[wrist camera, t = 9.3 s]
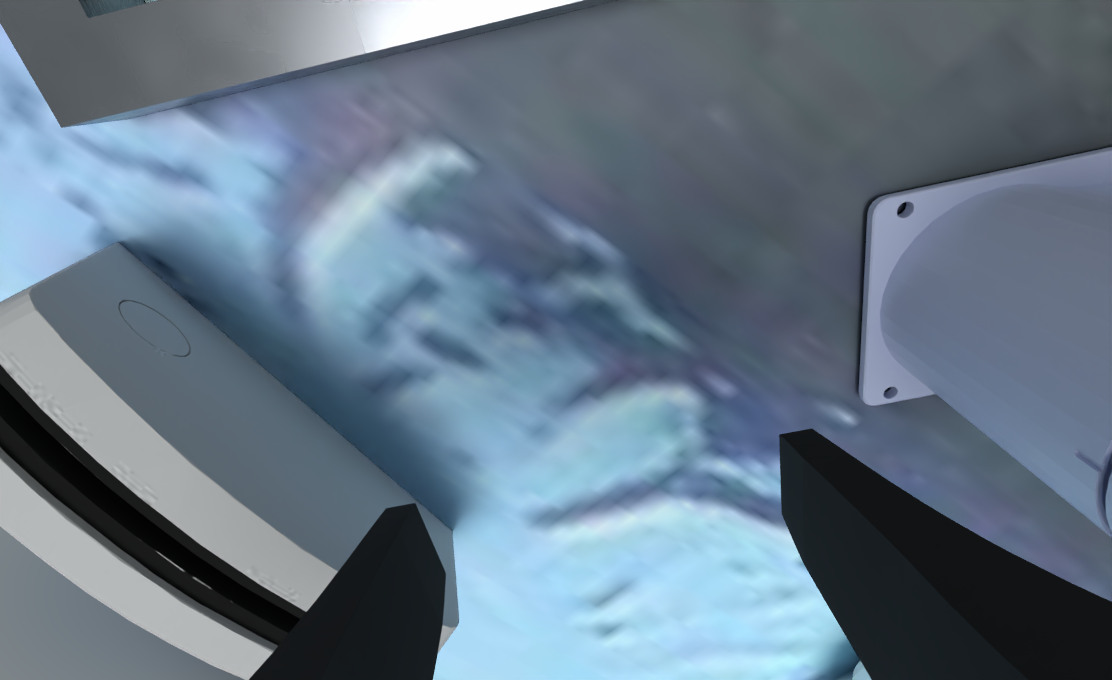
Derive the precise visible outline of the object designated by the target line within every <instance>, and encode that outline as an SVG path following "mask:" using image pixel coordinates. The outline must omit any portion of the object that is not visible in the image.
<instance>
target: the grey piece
mask: <svg viewBox="0 0 1112 680" xmlns="http://www.w3.org/2000/svg"><path fill="white" fill-rule="evenodd" d="M411 503H416V505H417V508H418V510H419V512H420V515H421V517H422V519H423V521H424V524H425V526H426V528H427V531H428V533H429V535H430V538H431V540H432V542H433V544H434V547H435V549H436V551H437V554H438V556H439V558H440V560H441V563H442V565H443V567H444V570H445V572H446V584H445V602H444V614H443V626H442V632H441V637H440V643H439V648H438V652H439V651H440V649H441V648H442V647H443V645H444V644H445V642H446V641H447V640H448V638H449V637H450V635H451V634H452V633H453V631H454V630H455V628H456V627H457V625H458V623H459V612H458V599H457V586H456V573H455V560H454V547H453V534H452V531H451V530H450V529H449V528H448V527H447V526H446V525H444V524H443V523H442V522H441V521H440V520H439V519H438V518H436V517H435V516H434V515H433V514H432V513H431V512H429V511H428V510H427V509H426V508H425V507H424V506H423V505H421V504H420V503H419V502H418V501H417V500H416V499H414V498H413V497H412V496H411V495H410V494H409V493H408V492H406V491H405V490H404V489H403V488H402V487H401V486H399V485H398V484H397V483H396V482H395V481H394V480H393V479H391V478H390V477H389V476H388V475H387V474H386V473H384V472H383V471H382V470H381V469H380V468H379V467H378V466H376V465H375V464H374V463H373V462H372V461H371V460H369V459H368V458H367V457H366V456H365V455H364V454H363V453H361V452H360V451H359V450H358V449H357V448H356V447H354V446H353V445H352V444H351V443H350V442H349V441H347V440H346V439H345V438H344V437H343V436H342V435H341V434H339V433H338V432H337V431H336V430H335V429H334V428H332V427H331V426H330V425H329V424H328V423H327V422H326V421H324V420H323V419H322V418H321V417H320V416H319V415H317V414H316V413H315V412H314V411H313V410H312V409H311V408H309V407H308V406H307V405H306V404H305V403H304V402H302V401H301V400H300V399H299V398H298V397H297V396H296V395H294V394H293V393H292V392H291V391H290V390H289V389H287V388H286V387H285V386H284V385H283V384H282V383H281V382H279V381H278V380H277V379H276V378H275V377H274V376H272V375H271V374H270V373H269V372H268V371H267V370H266V369H264V368H263V367H262V366H261V365H260V364H259V363H257V362H256V361H255V360H254V359H253V358H252V357H251V356H249V355H248V354H247V353H246V352H245V351H244V350H242V349H241V348H240V347H239V346H238V345H237V344H235V343H234V342H233V341H232V340H231V339H230V338H229V337H227V336H226V335H225V334H224V333H223V332H222V331H220V330H219V329H218V328H217V327H216V326H215V325H214V324H212V323H211V322H210V321H209V320H208V319H207V318H205V317H204V316H203V315H202V314H201V313H200V312H199V311H197V310H196V309H195V308H194V307H193V306H192V305H190V304H189V303H188V302H187V301H186V300H185V299H184V298H182V297H181V296H180V295H179V294H178V293H177V292H175V291H174V290H173V289H172V288H171V287H170V286H169V285H167V284H166V283H165V282H164V281H163V280H162V279H160V278H159V277H158V276H157V275H156V274H155V273H154V272H152V271H151V270H150V269H149V268H148V267H147V266H145V265H144V264H143V263H142V262H141V261H140V260H139V259H137V258H136V257H135V256H134V255H133V254H132V253H130V252H129V251H128V250H127V249H126V248H125V247H124V246H122V245H121V244H120V243H119V242H117V243H115V244H113V245H111V246H109V247H106V248H104V249H102V250H100V251H98V252H96V253H94V254H92V255H90V256H88V257H86V258H84V259H82V260H80V261H78V262H76V263H74V264H72V265H71V266H69V267H67V268H65V269H63V270H61V271H59V272H57V273H55V274H53V275H51V276H49V277H48V278H46V279H44V280H42V281H40V282H38V283H36V284H34V285H32V286H30V287H28V288H26V289H24V290H23V291H21V292H19V293H17V294H15V295H13V296H11V297H9V298H7V299H5V300H3V301H1V302H0V527H2V528H3V529H4V530H5V531H7V532H8V533H9V534H11V535H12V536H13V537H14V538H16V539H17V540H18V541H19V542H21V543H22V544H23V545H24V546H26V547H27V548H28V549H30V550H31V551H32V552H33V553H35V554H36V555H37V556H38V557H40V558H41V559H42V560H43V561H45V562H46V563H47V564H49V565H50V566H51V567H53V568H54V569H55V570H57V571H58V572H59V573H61V574H62V575H64V576H65V577H66V578H68V579H69V580H71V581H72V582H73V583H75V584H76V585H77V586H79V587H80V588H81V589H83V590H84V591H86V592H87V593H89V594H90V595H91V596H93V597H94V598H96V599H97V600H99V601H100V602H102V603H104V604H105V605H106V606H108V607H110V608H111V609H113V610H114V611H116V612H117V613H119V614H120V615H122V616H123V617H125V618H127V619H128V620H130V621H131V622H133V623H135V624H136V625H138V626H140V627H142V628H144V629H145V630H147V631H149V632H151V633H152V634H154V635H156V636H158V637H159V638H161V639H163V640H165V641H166V642H168V643H170V644H172V645H174V646H176V647H178V648H179V649H181V650H183V651H185V652H187V653H189V654H191V655H193V656H195V657H197V658H199V659H201V660H203V661H205V662H207V663H209V664H211V665H213V666H215V667H217V668H219V669H222V670H224V671H226V672H229V673H231V674H234V675H236V676H238V677H241V678H243V679H245V680H249V679H250V677H251V676H252V675H253V674H254V673H255V672H256V671H257V670H258V669H259V668H260V666H261V665H262V664H263V663H264V662H265V661H266V660H267V659H268V657H269V656H270V655H271V654H272V653H273V652H274V650H275V649H276V648H277V647H278V646H279V644H280V643H281V642H282V641H283V640H284V638H285V637H286V636H287V635H288V634H289V632H290V631H291V630H292V629H293V628H294V626H295V625H296V624H297V623H298V622H299V620H300V619H301V618H302V617H303V615H304V614H305V613H306V612H307V611H308V609H309V608H310V607H311V606H312V605H313V603H314V602H315V601H316V600H317V598H318V597H319V596H320V595H321V593H322V592H323V591H324V589H325V588H326V587H327V585H328V584H329V583H330V581H331V580H332V579H333V578H334V576H335V575H336V574H337V572H338V571H339V570H340V568H341V567H342V566H343V565H344V563H345V562H346V561H347V559H348V558H349V557H350V555H351V554H352V553H353V551H354V550H355V549H356V547H357V546H358V545H359V543H360V542H361V541H362V539H363V538H364V536H365V535H366V534H367V532H368V531H369V530H370V528H371V527H372V526H373V524H374V523H375V522H376V521H377V519H378V518H379V517H380V515H381V514H382V513H383V512H384V510H385V509H386V508H390V507H395V506H401V505H406V504H411Z"/></svg>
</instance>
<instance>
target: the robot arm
mask: <svg viewBox="0 0 1112 680" xmlns="http://www.w3.org/2000/svg"><path fill="white" fill-rule="evenodd" d="M904 202H906V208H905V210H904V211H903V212H902V213H901V214H899V215H897V210H898V207H899V206H900V205H901V204H902V203H904ZM889 387H891V389H890V390H889V391H888V392H885V393H884V391H885V390H886V389H887V388H889ZM934 394H936V395H938V396H939V397H940V398H941V399H943V400H944V401H945V402H946V403H947V404H949V405H950V406H951V407H952V408H954V409H955V410H956V411H957V412H958V413H960V414H961V415H962V416H963V417H965V418H966V419H967V420H968V421H969V422H971V423H972V424H973V425H974V426H976V427H977V428H978V429H979V430H980V431H982V432H983V433H984V434H985V435H987V436H988V437H989V438H990V439H991V440H993V441H994V442H995V443H996V444H998V445H999V446H1000V447H1001V448H1002V449H1004V450H1005V451H1006V452H1007V453H1009V454H1010V455H1011V456H1012V457H1014V458H1015V459H1016V460H1017V461H1018V462H1020V463H1021V464H1022V465H1023V466H1025V467H1026V468H1027V469H1028V470H1029V471H1031V472H1032V473H1033V474H1034V475H1036V476H1037V477H1038V478H1039V479H1040V480H1042V481H1043V482H1044V483H1045V484H1047V485H1048V486H1049V487H1050V488H1051V489H1053V490H1054V491H1055V492H1056V493H1058V494H1059V495H1060V496H1061V497H1062V498H1064V499H1065V500H1066V501H1067V502H1069V503H1070V504H1071V505H1072V506H1073V507H1075V508H1076V509H1077V510H1078V511H1080V512H1081V513H1082V514H1083V515H1084V516H1086V517H1087V518H1088V519H1089V520H1091V521H1092V522H1093V523H1094V524H1096V525H1097V526H1098V527H1099V528H1100V529H1102V530H1103V531H1104V532H1105V533H1107V534H1108V535H1109V536H1110V537H1111V538H1112V147H1109V148H1104V149H1100V150H1095V151H1090V152H1085V153H1081V154H1076V155H1071V156H1067V157H1062V158H1057V159H1053V160H1048V161H1043V162H1038V163H1034V164H1029V165H1024V166H1020V167H1015V168H1010V169H1005V170H1001V171H996V172H991V173H987V174H982V175H977V176H973V177H968V178H963V179H958V180H954V181H949V182H944V183H940V184H935V185H930V186H926V187H921V188H916V189H911V190H907V191H902V192H897V193H893V194H888V195H884V196H881V197H879V198H877V199H876V200H875V201H873V202H872V204H871V205H870V207H869V210H868V214H867V233H866V253H865V274H864V294H863V314H862V334H861V355H860V375H859V397H860V398H861V399H862V400H863V401H864V402H865V403H866V404H867V405H870V406H876V405H881V404H886V403H892V402H897V401H902V400H908V399H913V398H918V397H924V396H929V395H934ZM779 438H780V471H781V504H782V515H783V518H784V520H785V522H786V525H787V527H788V529H789V532H790V534H791V536H792V539H793V541H794V543H795V545H796V548H797V550H798V552H799V554H800V556H801V559H802V561H803V563H804V565H805V567H806V568H807V570H808V572H809V574H810V575H811V577H812V579H813V581H814V582H815V584H816V586H817V588H818V589H819V591H820V593H821V594H822V596H823V598H824V600H825V601H826V603H827V605H828V606H829V608H830V610H831V612H832V613H833V615H834V617H835V618H836V620H837V622H838V623H839V625H840V627H841V628H842V630H843V632H844V634H845V635H846V637H847V639H848V640H849V642H850V644H851V645H852V647H853V649H854V651H855V652H856V654H857V656H858V657H859V659H860V661H861V662H862V664H863V666H864V668H865V669H866V671H867V673H868V674H869V676H870V678H871V679H872V680H1112V602H1111V601H1109V600H1106V599H1104V598H1102V597H1100V596H1098V595H1095V594H1093V593H1091V592H1089V591H1087V590H1085V589H1083V588H1080V587H1078V586H1076V585H1074V584H1072V583H1070V582H1068V581H1066V580H1064V579H1062V578H1060V577H1058V576H1056V575H1054V574H1052V573H1050V572H1048V571H1046V570H1044V569H1042V568H1040V567H1038V566H1036V565H1034V564H1032V563H1030V562H1028V561H1026V560H1024V559H1022V558H1020V557H1018V556H1016V555H1014V554H1012V553H1010V552H1008V551H1006V550H1005V549H1003V548H1001V547H999V546H997V545H995V544H993V543H992V542H990V541H988V540H986V539H984V538H982V537H981V536H979V535H977V534H976V533H974V532H972V531H970V530H969V529H967V528H965V527H963V526H962V525H960V524H958V523H956V522H955V521H953V520H951V519H949V518H948V517H946V516H944V515H943V514H941V513H939V512H938V511H936V510H934V509H933V508H931V507H929V506H928V505H926V504H924V503H923V502H921V501H920V500H918V499H917V498H915V497H913V496H912V495H910V494H909V493H907V492H906V491H904V490H902V489H901V488H899V487H898V486H896V485H895V484H893V483H891V482H890V481H888V480H887V479H885V478H884V477H882V476H881V475H879V474H878V473H876V472H875V471H873V470H872V469H870V468H869V467H867V466H866V465H864V464H863V463H862V462H860V461H859V460H857V459H856V458H854V457H853V456H851V455H850V454H848V453H847V452H845V451H844V450H842V449H841V448H840V447H838V446H837V445H835V444H834V443H832V442H831V441H829V440H828V439H826V438H825V437H823V436H822V435H821V434H819V433H818V432H816V431H815V430H813V429H807V430H802V431H797V432H791V433H786V434H780V435H779ZM445 584H446V572H445V570H444V567H443V565H442V563H441V560H440V558H439V556H438V554H437V551H436V549H435V547H434V544H433V542H432V540H431V538H430V535H429V533H428V531H427V528H426V526H425V524H424V521H423V519H422V517H421V515H420V512H419V510H418V508H417V505H416V503H411V504H406V505H401V506H395V507H390V508H386V509H385V510H384V512H383V513H382V514H381V515H380V517H379V518H378V519H377V521H376V522H375V523H374V524H373V526H372V527H371V528H370V530H369V531H368V532H367V534H366V535H365V536H364V538H363V539H362V541H361V542H360V543H359V545H358V546H357V547H356V549H355V550H354V551H353V553H352V554H351V555H350V557H349V558H348V559H347V561H346V562H345V563H344V565H343V566H342V567H341V568H340V570H339V571H338V572H337V574H336V575H335V576H334V578H333V579H332V580H331V581H330V583H329V584H328V585H327V587H326V588H325V589H324V591H323V592H322V593H321V595H320V596H319V597H318V598H317V600H316V601H315V602H314V603H313V605H312V606H311V607H310V608H309V609H308V611H307V612H306V613H305V614H304V615H303V617H302V618H301V619H300V620H299V622H298V623H297V624H296V625H295V626H294V628H293V629H292V630H291V631H290V632H289V634H288V635H287V636H286V637H285V638H284V640H283V641H282V642H281V643H280V644H279V646H278V647H277V648H276V649H275V650H274V652H273V653H272V654H271V655H270V656H269V657H268V659H267V660H266V661H265V662H264V663H263V664H262V665H261V666H260V668H259V669H258V670H257V671H256V672H255V673H254V674H253V675H252V676H251V677H250V679H249V680H433V675H434V670H435V665H436V659H437V654H438V648H439V643H440V637H441V632H442V626H443V614H444V602H445Z"/></svg>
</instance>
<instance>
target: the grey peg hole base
mask: <svg viewBox="0 0 1112 680" xmlns="http://www.w3.org/2000/svg"><path fill="white" fill-rule="evenodd" d="M613 1H617V0H157V1H153V2H150V3H146V4H145V3H144V1H143V0H0V23H1V25H2V27H3V28H4V30H5V32H6V34H7V35H8V37H9V39H10V40H11V42H12V44H13V46H14V47H15V49H16V51H17V52H18V54H19V56H20V58H21V59H22V61H23V63H24V64H25V66H26V68H27V70H28V71H29V73H30V75H31V76H32V78H33V80H34V81H35V83H36V85H37V87H38V88H39V90H40V92H41V93H42V95H43V97H44V99H45V100H46V102H47V104H48V105H49V107H50V109H51V111H52V112H53V114H54V116H55V117H56V119H57V121H58V122H59V124H60V126H61V128H63V127H71V126H79V125H87V124H94V123H102V122H110V121H118V120H126V119H131V118H135V117H140V116H144V115H148V114H152V113H156V112H160V111H164V110H168V109H172V108H177V107H181V106H185V105H189V104H193V103H197V102H201V101H205V100H209V99H214V98H218V97H222V96H226V95H230V94H234V93H238V92H242V91H246V90H251V89H255V88H259V87H263V86H267V85H271V84H275V83H279V82H284V81H288V80H292V79H296V78H300V77H304V76H308V75H312V74H316V73H321V72H325V71H329V70H333V69H337V68H341V67H345V66H349V65H353V64H358V63H362V62H366V61H370V60H374V59H378V58H382V57H386V56H390V55H395V54H399V53H403V52H407V51H411V50H415V49H419V48H423V47H427V46H432V45H436V44H440V43H444V42H448V41H452V40H456V39H460V38H464V37H469V36H473V35H477V34H481V33H485V32H489V31H493V30H497V29H502V28H506V27H510V26H514V25H518V24H522V23H526V22H530V21H534V20H539V19H543V18H547V17H551V16H555V15H559V14H563V13H567V12H571V11H576V10H580V9H584V8H588V7H592V6H596V5H600V4H604V3H608V2H613Z"/></svg>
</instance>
